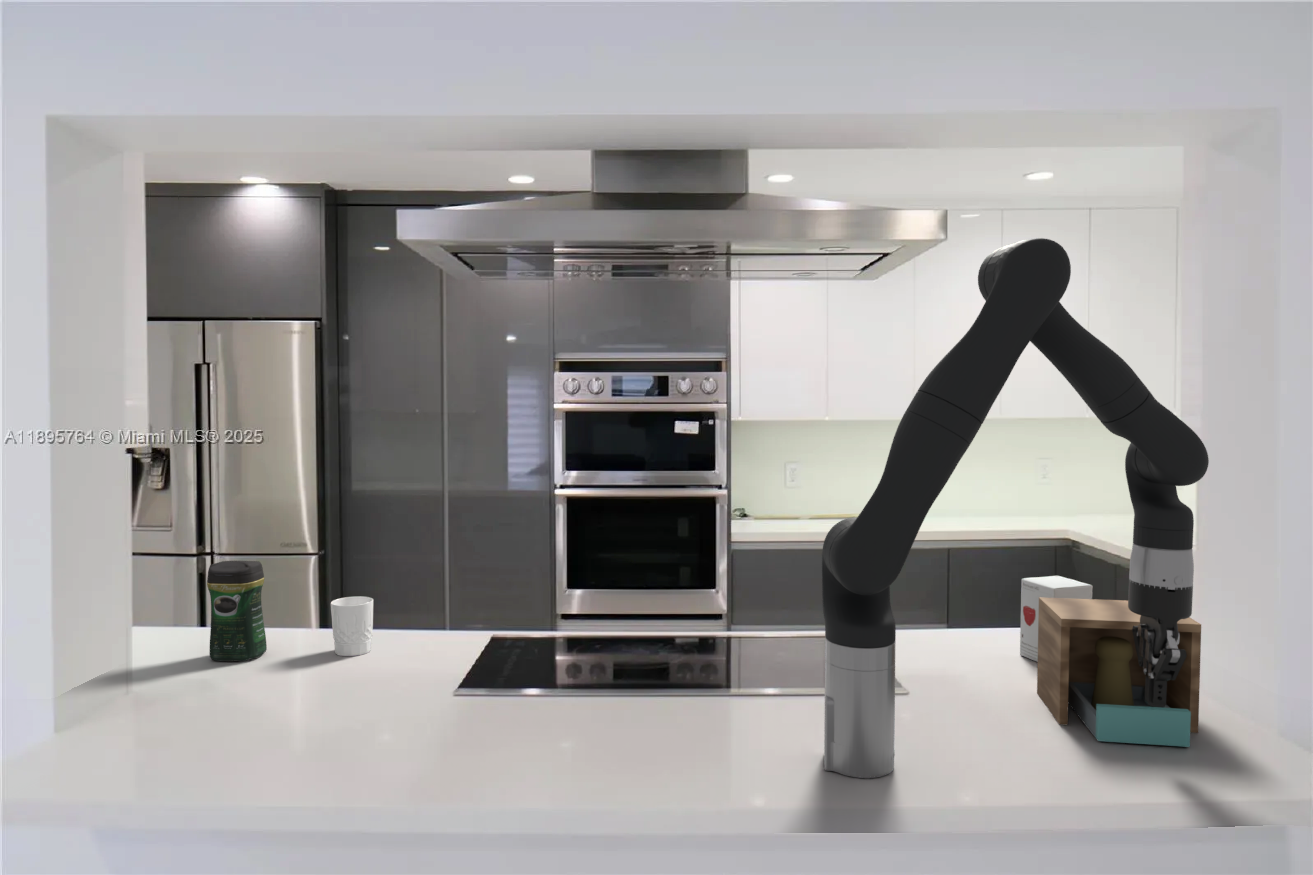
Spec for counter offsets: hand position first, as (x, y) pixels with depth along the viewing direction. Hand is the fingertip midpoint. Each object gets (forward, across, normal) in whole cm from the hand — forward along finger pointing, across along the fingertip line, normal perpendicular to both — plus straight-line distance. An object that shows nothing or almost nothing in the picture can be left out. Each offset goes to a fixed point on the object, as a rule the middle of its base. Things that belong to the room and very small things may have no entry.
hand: (1155, 704), depth 120 cm
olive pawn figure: (+6, -16, 0) cm, 18 cm away
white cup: (+10, -29, -134) cm, 138 cm away
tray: (+7, -14, +1) cm, 15 cm away
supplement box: (+8, -46, -1) cm, 46 cm away
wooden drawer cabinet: (+8, -18, +1) cm, 20 cm away
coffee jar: (+10, -22, -154) cm, 156 cm away
